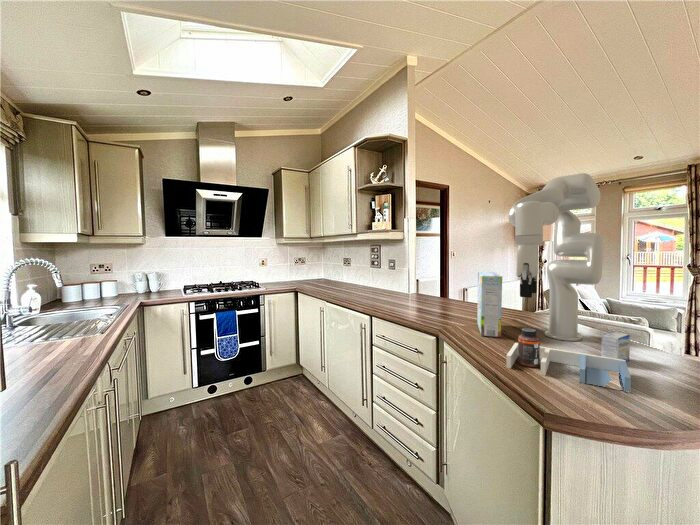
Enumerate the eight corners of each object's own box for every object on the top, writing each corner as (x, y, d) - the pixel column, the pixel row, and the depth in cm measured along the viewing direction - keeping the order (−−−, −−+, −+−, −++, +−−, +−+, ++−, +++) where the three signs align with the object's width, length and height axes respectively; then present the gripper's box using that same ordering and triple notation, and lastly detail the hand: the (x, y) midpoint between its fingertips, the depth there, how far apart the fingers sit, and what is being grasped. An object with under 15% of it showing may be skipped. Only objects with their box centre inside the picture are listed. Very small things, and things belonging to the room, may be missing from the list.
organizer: (515, 353, 106) (515, 342, 106) (625, 373, 89) (625, 360, 88) (506, 367, 95) (506, 355, 95) (630, 393, 77) (630, 378, 77)
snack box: (503, 338, 124) (503, 276, 122) (480, 336, 127) (480, 275, 125) (496, 324, 144) (496, 271, 143) (476, 323, 147) (476, 271, 146)
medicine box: (618, 365, 94) (618, 338, 93) (600, 361, 98) (601, 335, 97) (629, 360, 98) (630, 334, 97) (612, 356, 102) (613, 331, 101)
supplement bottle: (542, 368, 94) (543, 332, 93) (522, 367, 95) (522, 332, 94) (535, 361, 100) (535, 327, 99) (515, 360, 101) (515, 326, 100)
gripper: (520, 241, 104) (520, 290, 105) (509, 241, 91) (509, 298, 92) (546, 240, 100) (545, 292, 101) (539, 241, 86) (538, 300, 87)
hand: (528, 294), depth 96 cm, fingers open, 9 cm apart
